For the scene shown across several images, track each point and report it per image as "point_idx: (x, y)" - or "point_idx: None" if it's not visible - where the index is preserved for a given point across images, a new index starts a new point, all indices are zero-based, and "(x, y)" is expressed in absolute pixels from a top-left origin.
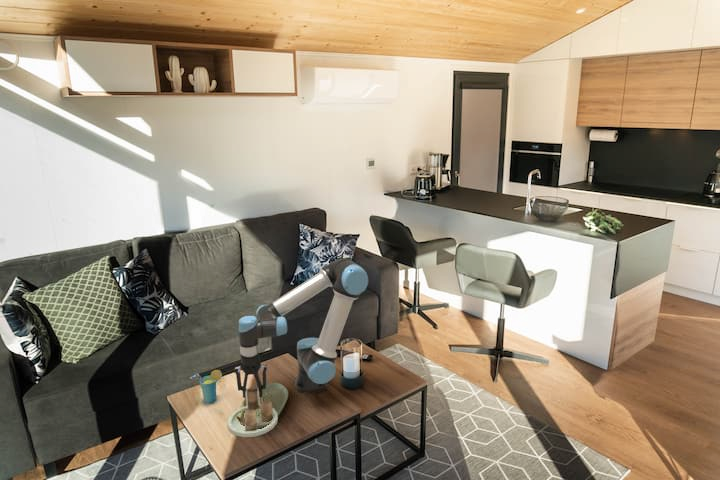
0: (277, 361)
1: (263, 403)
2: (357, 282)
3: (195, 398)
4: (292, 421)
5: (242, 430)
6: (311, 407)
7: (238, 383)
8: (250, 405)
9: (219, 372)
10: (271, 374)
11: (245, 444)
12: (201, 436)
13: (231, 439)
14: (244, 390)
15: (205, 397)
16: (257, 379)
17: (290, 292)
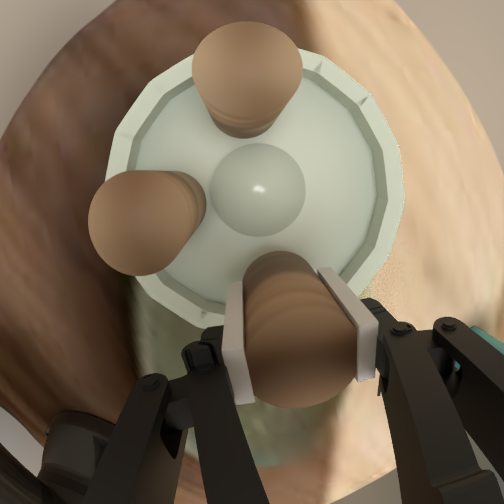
0: None
1: (157, 225)
2: None
3: None
4: (58, 224)
5: (297, 105)
6: (32, 330)
7: (496, 362)
8: (297, 262)
9: None
10: (268, 494)
11: (247, 20)
12: (460, 101)
13: (333, 55)
14: (392, 330)
15: (495, 338)
16: (224, 488)
17: None
